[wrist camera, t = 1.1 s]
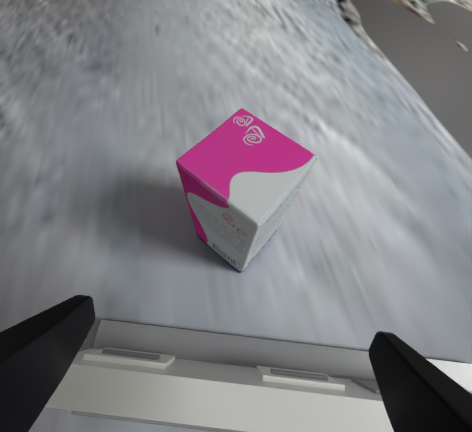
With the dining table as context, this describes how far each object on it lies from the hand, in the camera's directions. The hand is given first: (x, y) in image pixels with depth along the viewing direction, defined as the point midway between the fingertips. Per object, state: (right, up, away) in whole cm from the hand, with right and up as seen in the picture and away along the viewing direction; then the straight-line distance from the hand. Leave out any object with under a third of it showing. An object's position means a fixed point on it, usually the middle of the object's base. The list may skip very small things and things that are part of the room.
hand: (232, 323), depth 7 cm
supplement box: (0, +2, +16) cm, 16 cm away
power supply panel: (+4, -10, +11) cm, 15 cm away
